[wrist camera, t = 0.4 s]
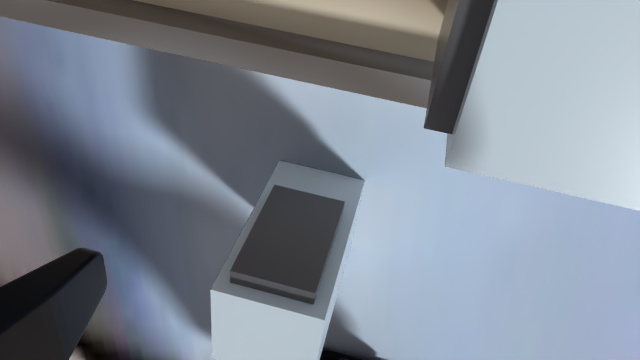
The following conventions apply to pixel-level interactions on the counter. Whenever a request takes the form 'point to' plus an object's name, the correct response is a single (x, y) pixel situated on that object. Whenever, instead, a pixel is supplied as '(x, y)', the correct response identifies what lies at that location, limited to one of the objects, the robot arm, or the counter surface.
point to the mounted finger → (542, 94)
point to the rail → (271, 36)
